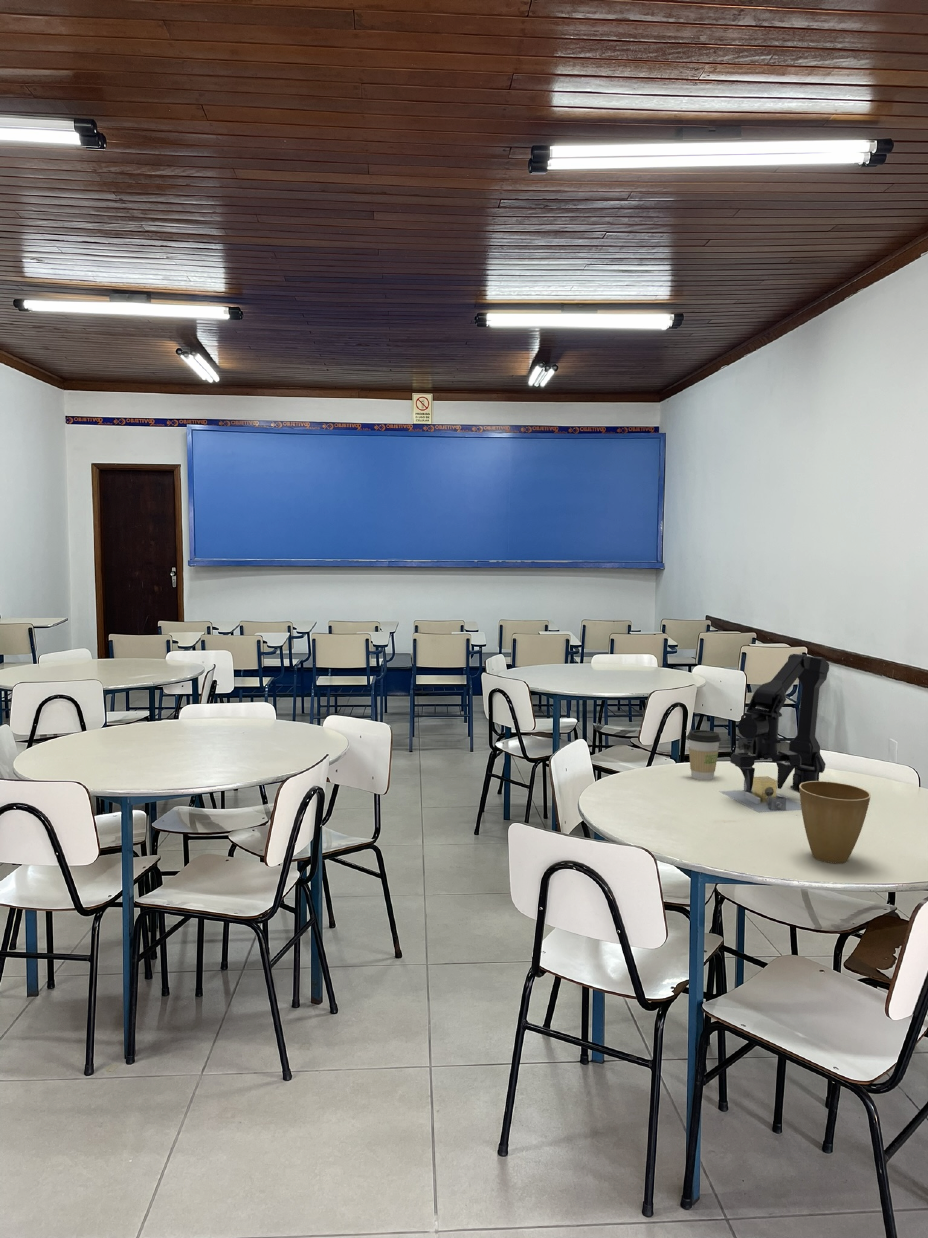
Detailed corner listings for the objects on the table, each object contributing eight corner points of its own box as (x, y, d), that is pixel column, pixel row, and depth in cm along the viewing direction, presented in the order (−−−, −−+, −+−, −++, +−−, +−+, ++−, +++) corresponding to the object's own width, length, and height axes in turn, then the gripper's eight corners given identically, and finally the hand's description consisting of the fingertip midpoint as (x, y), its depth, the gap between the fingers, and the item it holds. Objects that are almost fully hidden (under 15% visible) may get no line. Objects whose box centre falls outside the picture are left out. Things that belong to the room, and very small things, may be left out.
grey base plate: (768, 793, 247) (769, 783, 246) (811, 813, 227) (812, 803, 227) (719, 795, 243) (719, 786, 243) (758, 816, 224) (758, 806, 223)
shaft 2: (762, 804, 231) (763, 792, 231) (777, 804, 231) (777, 792, 231) (771, 810, 225) (771, 798, 225) (785, 810, 226) (786, 798, 225)
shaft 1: (765, 796, 239) (765, 784, 239) (751, 796, 239) (751, 784, 239) (757, 790, 245) (757, 779, 244) (743, 790, 244) (744, 779, 244)
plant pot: (794, 863, 189) (797, 793, 188) (797, 843, 203) (800, 778, 202) (868, 874, 183) (872, 802, 182) (865, 853, 197) (869, 785, 196)
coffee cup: (723, 786, 253) (725, 736, 252) (690, 785, 253) (691, 736, 252) (714, 777, 263) (716, 730, 262) (682, 776, 263) (684, 729, 262)
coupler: (776, 802, 233) (777, 780, 233) (761, 802, 232) (762, 781, 232) (766, 797, 238) (767, 776, 237) (752, 798, 237) (753, 776, 236)
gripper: (779, 727, 244) (777, 780, 245) (721, 729, 239) (718, 783, 240) (803, 735, 233) (801, 791, 234) (742, 737, 228) (740, 794, 230)
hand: (764, 789), depth 235 cm, fingers open, 9 cm apart
